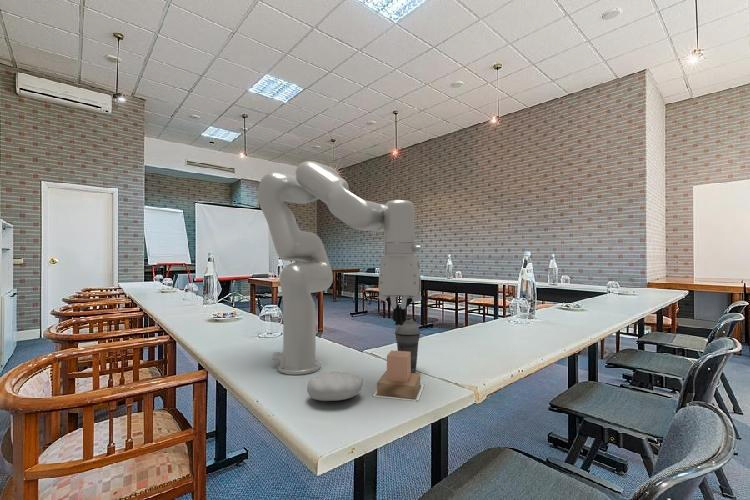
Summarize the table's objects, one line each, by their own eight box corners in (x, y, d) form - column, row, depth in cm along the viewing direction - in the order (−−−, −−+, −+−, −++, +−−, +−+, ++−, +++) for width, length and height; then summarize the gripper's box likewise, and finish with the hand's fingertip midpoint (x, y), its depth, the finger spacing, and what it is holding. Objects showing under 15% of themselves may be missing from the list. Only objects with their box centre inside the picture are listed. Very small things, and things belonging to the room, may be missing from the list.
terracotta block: (391, 373, 91) (391, 350, 91) (410, 375, 90) (410, 351, 90) (386, 380, 86) (386, 355, 86) (407, 382, 85) (407, 357, 85)
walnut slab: (377, 395, 85) (377, 382, 85) (386, 382, 93) (386, 370, 93) (414, 399, 82) (414, 386, 82) (420, 385, 91) (420, 373, 91)
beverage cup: (419, 378, 97) (419, 305, 98) (393, 376, 99) (393, 304, 99) (421, 370, 104) (421, 302, 105) (396, 368, 106) (396, 301, 106)
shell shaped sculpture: (356, 415, 75) (356, 384, 75) (299, 411, 77) (299, 381, 77) (367, 392, 88) (367, 365, 88) (318, 388, 90) (318, 363, 90)
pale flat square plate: (372, 398, 84) (372, 396, 84) (383, 382, 95) (383, 380, 95) (418, 403, 81) (418, 401, 81) (424, 386, 92) (424, 384, 92)
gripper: (431, 250, 90) (431, 323, 90) (374, 250, 94) (374, 320, 94) (427, 249, 83) (428, 328, 82) (366, 250, 87) (366, 325, 86)
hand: (399, 324), depth 88 cm, fingers closed
